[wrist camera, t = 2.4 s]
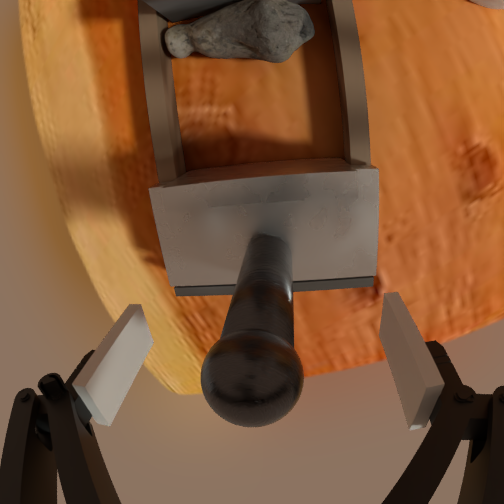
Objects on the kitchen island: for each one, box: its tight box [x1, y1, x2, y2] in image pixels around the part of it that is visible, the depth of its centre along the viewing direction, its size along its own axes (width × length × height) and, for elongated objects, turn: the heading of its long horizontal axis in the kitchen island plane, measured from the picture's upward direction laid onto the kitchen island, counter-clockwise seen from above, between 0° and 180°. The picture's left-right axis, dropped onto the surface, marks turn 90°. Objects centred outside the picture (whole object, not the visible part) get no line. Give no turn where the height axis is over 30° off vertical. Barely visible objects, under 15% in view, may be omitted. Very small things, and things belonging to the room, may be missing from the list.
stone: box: [165, 0, 315, 63], centre depth 18 cm, size 10×5×8 cm
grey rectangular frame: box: [138, 0, 374, 296], centre depth 19 cm, size 26×16×9 cm, turn 6°
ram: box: [148, 157, 379, 427], centre depth 18 cm, size 8×16×18 cm, turn 96°
